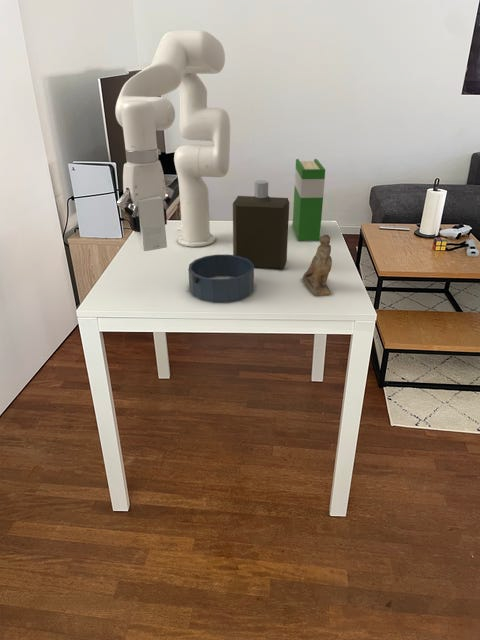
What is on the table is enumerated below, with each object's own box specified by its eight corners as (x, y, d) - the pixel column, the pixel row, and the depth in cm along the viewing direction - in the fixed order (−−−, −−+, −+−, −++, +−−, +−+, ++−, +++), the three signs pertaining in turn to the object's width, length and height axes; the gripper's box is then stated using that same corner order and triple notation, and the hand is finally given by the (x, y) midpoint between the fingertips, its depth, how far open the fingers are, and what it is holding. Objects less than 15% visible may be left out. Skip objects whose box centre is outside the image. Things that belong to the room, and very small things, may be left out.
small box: (167, 248, 123) (163, 198, 117) (143, 252, 121) (138, 201, 115) (158, 238, 130) (153, 190, 123) (135, 242, 127) (129, 193, 121)
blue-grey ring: (174, 289, 131) (172, 267, 128) (225, 269, 143) (225, 248, 140) (217, 310, 120) (216, 287, 117) (269, 286, 132) (269, 265, 129)
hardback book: (292, 224, 180) (295, 159, 168) (312, 224, 180) (316, 159, 168) (298, 241, 164) (302, 169, 152) (319, 240, 164) (325, 169, 152)
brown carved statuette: (329, 302, 129) (341, 246, 117) (309, 303, 129) (319, 246, 117) (319, 276, 138) (329, 221, 126) (301, 277, 137) (309, 222, 125)
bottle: (284, 270, 142) (288, 186, 130) (232, 267, 144) (231, 184, 132) (287, 260, 149) (291, 179, 136) (236, 257, 151) (236, 177, 139)
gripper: (161, 150, 122) (167, 217, 131) (102, 159, 111) (112, 232, 120) (180, 153, 117) (184, 222, 126) (119, 164, 107) (129, 239, 115)
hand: (149, 226), depth 123 cm, fingers closed on small box, 7 cm apart
